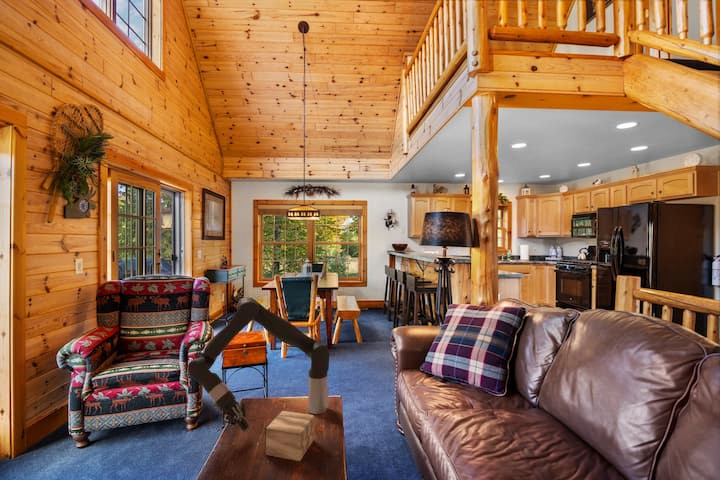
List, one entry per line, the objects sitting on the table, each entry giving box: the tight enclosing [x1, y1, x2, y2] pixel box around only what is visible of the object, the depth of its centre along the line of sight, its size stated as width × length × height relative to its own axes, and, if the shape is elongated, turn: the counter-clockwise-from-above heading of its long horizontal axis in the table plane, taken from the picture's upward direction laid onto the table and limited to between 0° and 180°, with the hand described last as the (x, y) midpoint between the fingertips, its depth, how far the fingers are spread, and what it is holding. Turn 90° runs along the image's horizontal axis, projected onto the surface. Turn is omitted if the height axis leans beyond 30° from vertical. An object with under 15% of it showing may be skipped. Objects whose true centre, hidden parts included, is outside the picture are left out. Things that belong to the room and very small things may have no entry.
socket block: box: [264, 410, 315, 462], centre depth 137 cm, size 14×15×10 cm
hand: (246, 428), depth 142 cm, fingers closed
